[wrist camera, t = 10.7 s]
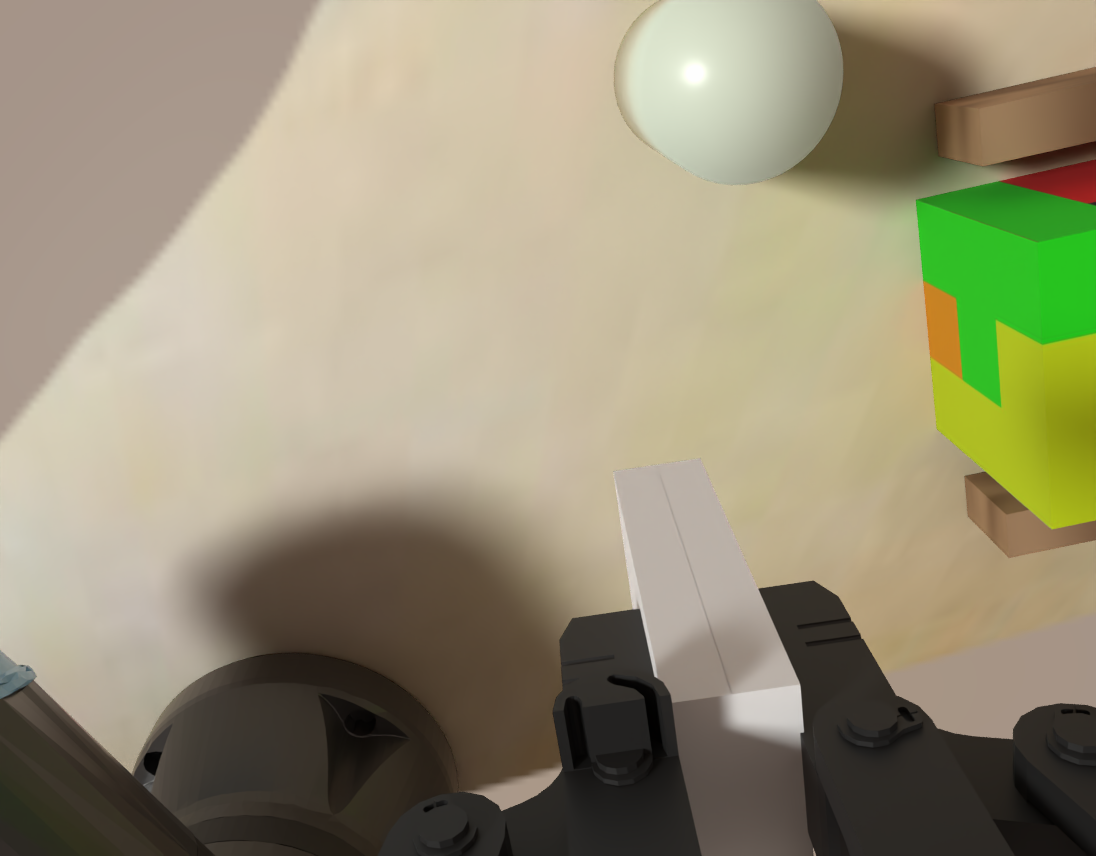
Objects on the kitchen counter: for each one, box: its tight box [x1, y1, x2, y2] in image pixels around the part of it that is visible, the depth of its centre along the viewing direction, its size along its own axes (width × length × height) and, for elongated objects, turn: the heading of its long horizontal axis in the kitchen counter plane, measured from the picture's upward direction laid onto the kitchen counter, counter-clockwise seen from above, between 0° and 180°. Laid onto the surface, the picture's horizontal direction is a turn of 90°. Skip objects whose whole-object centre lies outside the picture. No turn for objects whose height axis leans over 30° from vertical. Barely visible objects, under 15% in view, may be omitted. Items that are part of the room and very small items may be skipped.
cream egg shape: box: [614, 0, 843, 185], centre depth 34 cm, size 6×6×9 cm
